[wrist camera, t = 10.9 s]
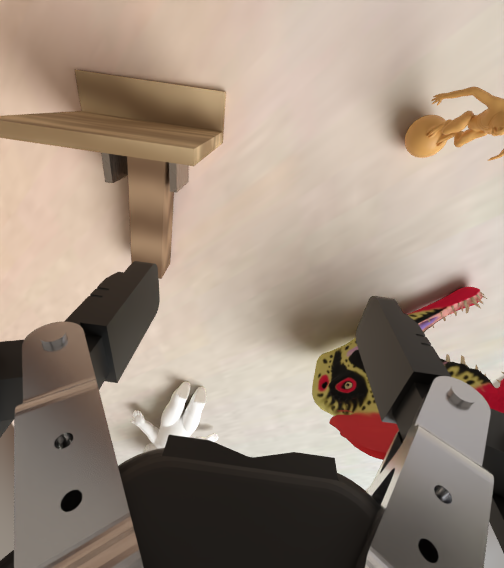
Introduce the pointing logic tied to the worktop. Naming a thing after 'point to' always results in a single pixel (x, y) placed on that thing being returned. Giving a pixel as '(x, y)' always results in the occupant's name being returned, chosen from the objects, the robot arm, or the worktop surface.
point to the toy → (357, 392)
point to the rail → (150, 212)
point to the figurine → (456, 125)
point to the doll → (175, 418)
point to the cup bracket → (118, 169)
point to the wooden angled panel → (130, 120)
